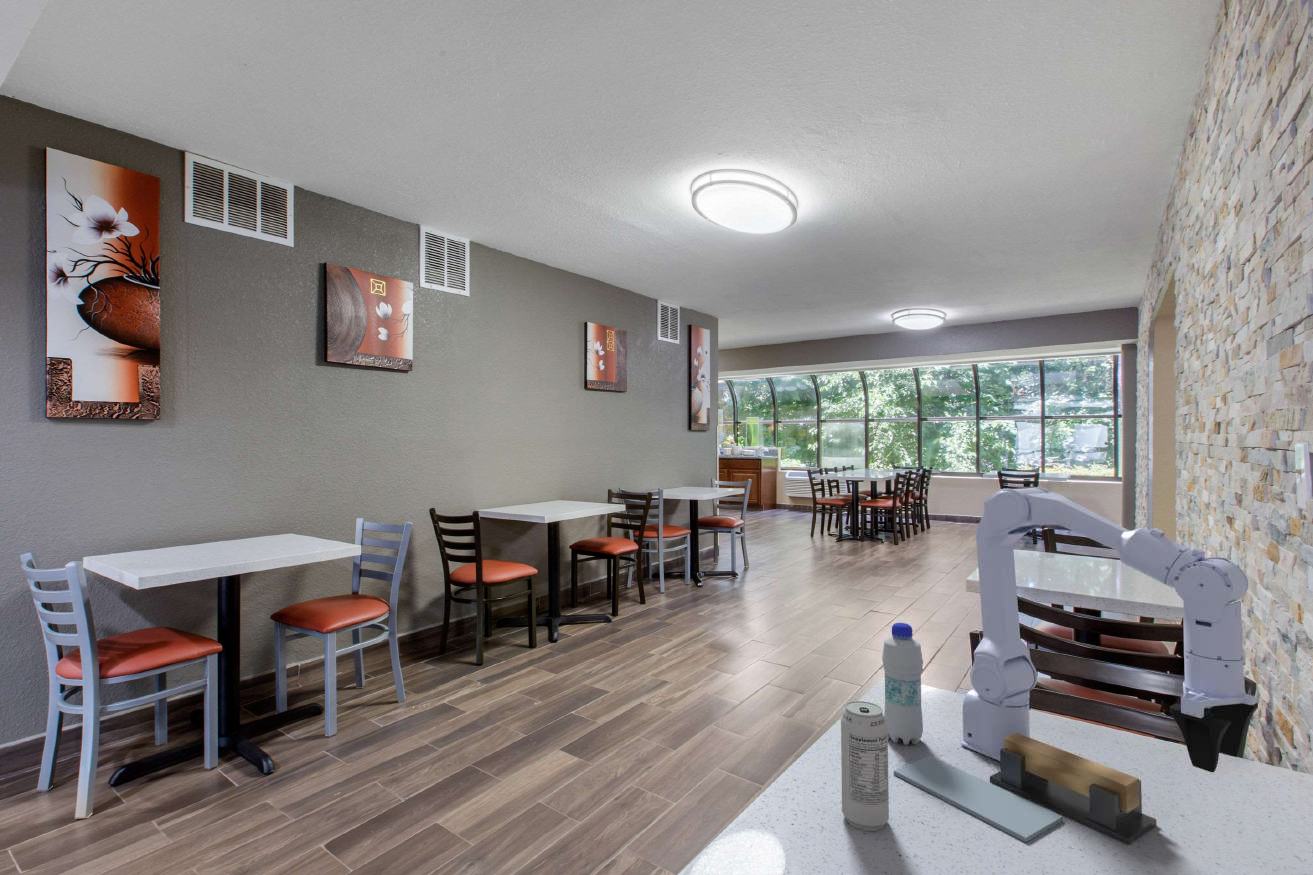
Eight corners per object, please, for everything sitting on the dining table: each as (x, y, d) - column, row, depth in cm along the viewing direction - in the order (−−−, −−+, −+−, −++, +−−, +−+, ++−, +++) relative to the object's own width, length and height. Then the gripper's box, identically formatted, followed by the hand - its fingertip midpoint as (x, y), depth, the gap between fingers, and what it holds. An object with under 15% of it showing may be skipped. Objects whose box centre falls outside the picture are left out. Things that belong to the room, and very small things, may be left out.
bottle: (928, 749, 105) (926, 629, 105) (886, 746, 106) (884, 627, 107) (919, 732, 111) (918, 618, 112) (880, 729, 113) (878, 617, 113)
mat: (893, 774, 97) (893, 770, 97) (930, 759, 101) (930, 755, 101) (1026, 842, 80) (1025, 837, 80) (1062, 820, 84) (1062, 816, 84)
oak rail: (1004, 761, 95) (1004, 738, 95) (1017, 755, 97) (1016, 732, 97) (1127, 812, 81) (1126, 785, 81) (1139, 805, 83) (1138, 778, 83)
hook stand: (989, 781, 95) (989, 745, 95) (1019, 767, 99) (1018, 733, 99) (1128, 844, 79) (1127, 802, 79) (1156, 825, 83) (1155, 784, 83)
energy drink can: (884, 809, 87) (883, 700, 88) (892, 835, 81) (891, 718, 82) (839, 805, 88) (838, 698, 89) (844, 830, 82) (843, 715, 83)
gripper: (1232, 673, 74) (1235, 790, 73) (1274, 652, 81) (1277, 758, 81) (1159, 656, 80) (1162, 765, 79) (1205, 638, 87) (1207, 737, 87)
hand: (1215, 760), depth 80 cm, fingers open, 7 cm apart
